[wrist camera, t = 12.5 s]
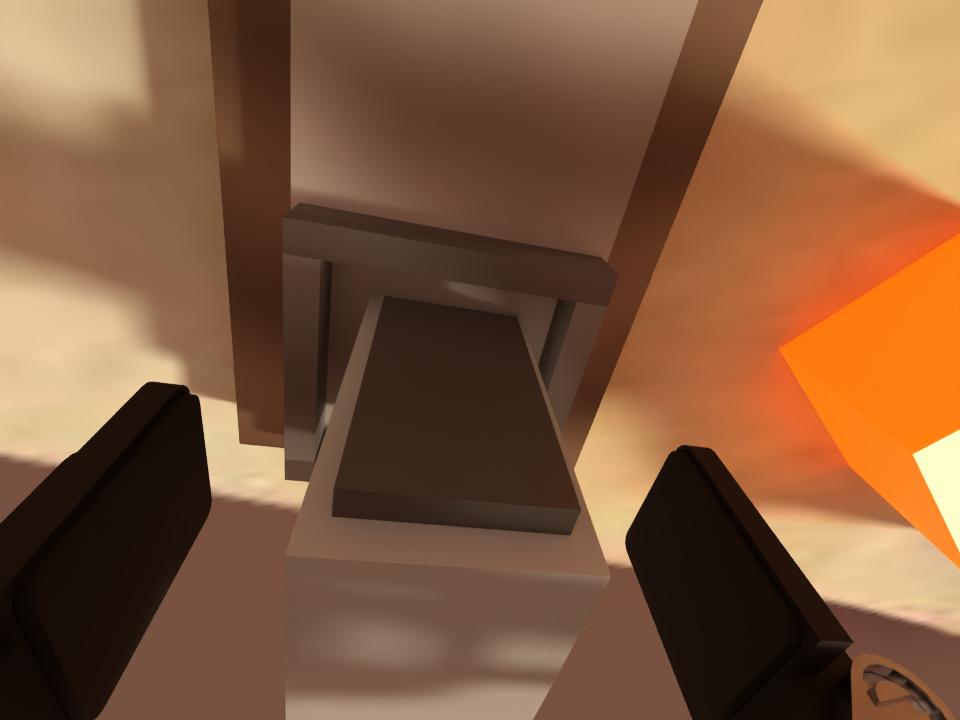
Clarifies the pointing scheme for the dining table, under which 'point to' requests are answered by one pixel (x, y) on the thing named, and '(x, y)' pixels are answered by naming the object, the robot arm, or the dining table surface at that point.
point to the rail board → (452, 178)
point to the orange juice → (896, 390)
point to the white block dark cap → (437, 528)
